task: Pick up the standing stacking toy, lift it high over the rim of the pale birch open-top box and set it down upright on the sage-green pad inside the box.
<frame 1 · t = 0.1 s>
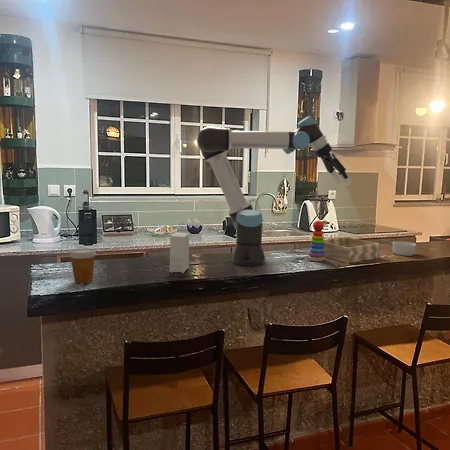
hand: (344, 183, 211), 36 cm above the counter, tool tilted 35°, fingers open, 13 cm apart
skincare box: (179, 271, 183), on the counter
saucepan: (396, 253, 226), on the counter
open-top box: (346, 256, 216), on the counter
stacking toy: (316, 260, 206), on the counter
disposable coffee cup: (83, 282, 165), on the counter
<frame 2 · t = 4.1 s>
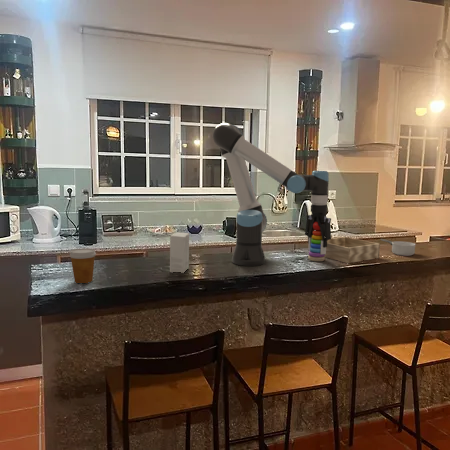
hand: (316, 252, 206), 4 cm above the counter, tool pointing down, fingers closed on stacking toy, 7 cm apart
stacking toy: (316, 260, 206), on the counter, touching gripper
everything else where it was.
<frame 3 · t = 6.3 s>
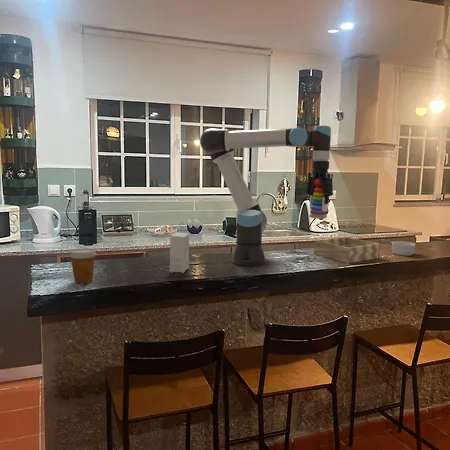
hand: (318, 210, 203), 24 cm above the counter, tool pointing down, fingers closed on stacking toy, 7 cm apart
stacking toy: (317, 218, 203), point 20 cm above the counter, touching gripper
everything else where it was.
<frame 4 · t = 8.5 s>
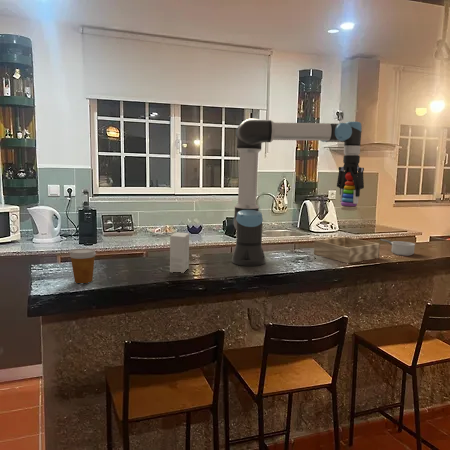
hand: (349, 202, 212), 27 cm above the counter, tool pointing down, fingers closed on stacking toy, 7 cm apart
stacking toy: (348, 210, 212), point 23 cm above the counter, touching gripper
everything else where it was.
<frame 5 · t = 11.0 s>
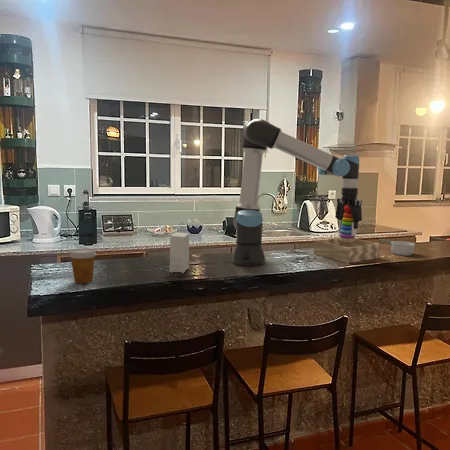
hand: (347, 234, 214), 11 cm above the counter, tool pointing down, fingers closed on stacking toy, 7 cm apart
stacking toy: (347, 241, 214), point 7 cm above the counter, touching gripper
everything else where it was.
when the fingers open (6 cm above the counter, at t = 13.0 s): stacking toy drops 1 cm, resting on open-top box.
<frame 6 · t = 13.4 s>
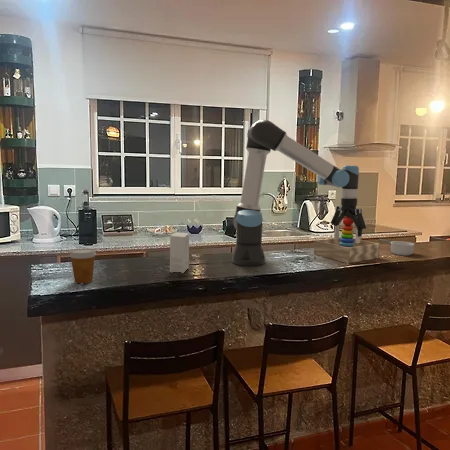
hand: (346, 240, 214), 8 cm above the counter, tool pointing down, fingers open, 13 cm apart
stacking toy: (346, 254, 215), point 1 cm above the counter, touching open-top box
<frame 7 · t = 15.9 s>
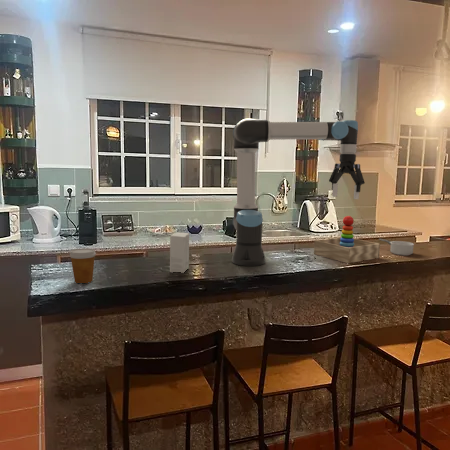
hand: (345, 197, 212), 29 cm above the counter, tool pointing down, fingers open, 13 cm apart
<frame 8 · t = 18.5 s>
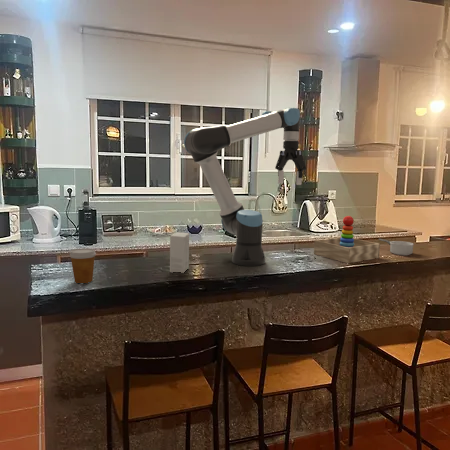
hand: (289, 184, 217), 35 cm above the counter, tool pointing down, fingers open, 13 cm apart
at the end: stacking toy inside the target area on the open-top box (0.1 cm from its centre), point 1.0 cm above the open-top box's base; stacking toy tilted 0°; the gripper is holding nothing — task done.
